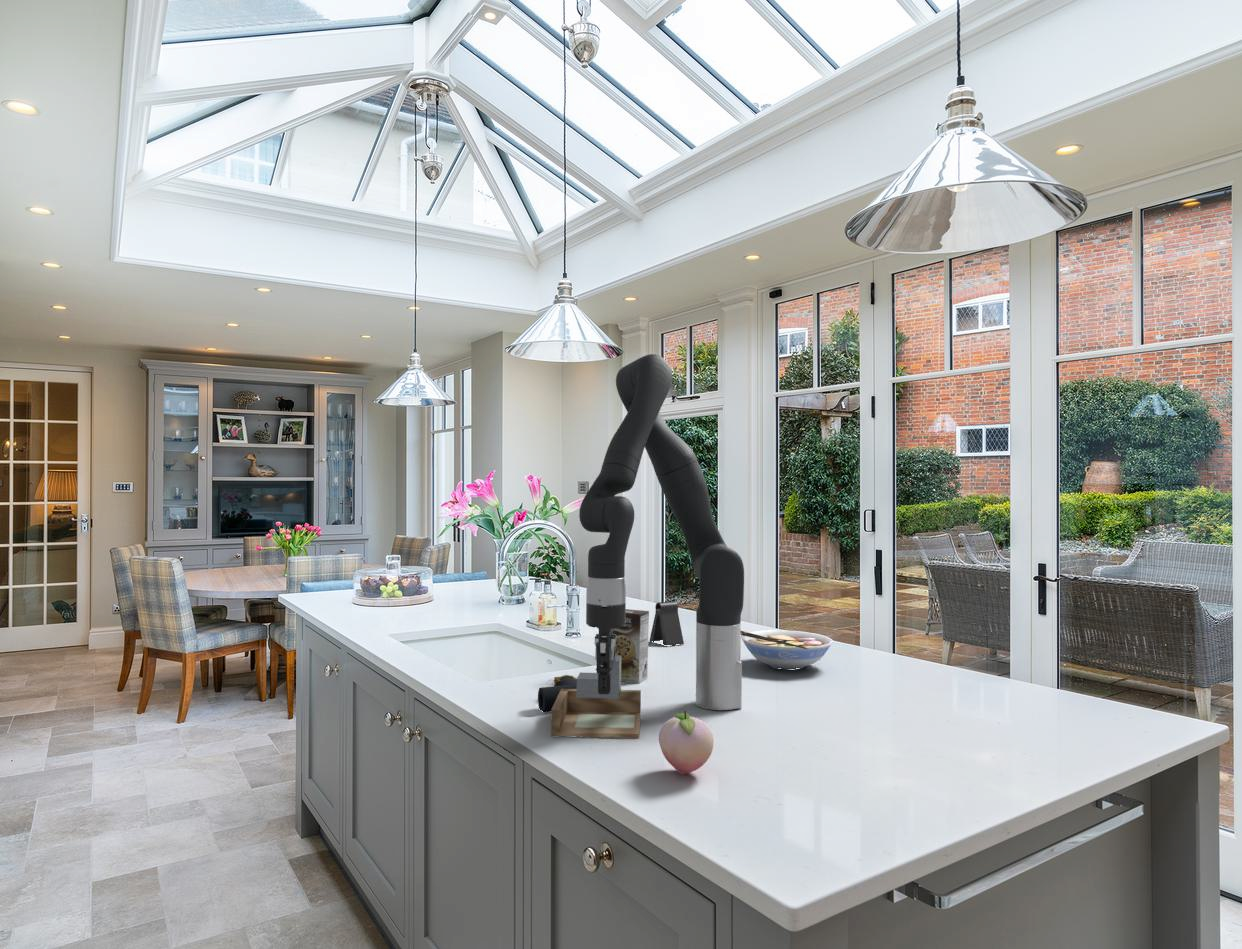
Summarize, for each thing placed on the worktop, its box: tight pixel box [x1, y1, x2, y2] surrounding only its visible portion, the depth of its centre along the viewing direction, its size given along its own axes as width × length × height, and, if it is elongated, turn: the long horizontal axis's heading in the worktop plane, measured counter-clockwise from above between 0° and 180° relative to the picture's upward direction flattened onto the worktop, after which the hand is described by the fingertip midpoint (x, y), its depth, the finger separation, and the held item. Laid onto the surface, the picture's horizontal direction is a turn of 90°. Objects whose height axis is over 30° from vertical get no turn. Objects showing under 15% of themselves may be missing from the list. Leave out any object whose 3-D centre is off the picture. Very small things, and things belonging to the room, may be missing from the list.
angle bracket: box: [576, 655, 622, 699], centre depth 150 cm, size 5×8×7 cm, turn 86°
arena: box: [550, 689, 642, 739], centre depth 150 cm, size 16×15×5 cm
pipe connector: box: [537, 674, 577, 713], centre depth 165 cm, size 12×5×15 cm
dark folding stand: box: [649, 600, 685, 645], centre depth 229 cm, size 9×6×12 cm, turn 31°
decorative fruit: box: [658, 710, 714, 775], centre depth 125 cm, size 9×8×10 cm
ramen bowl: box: [741, 629, 834, 669], centre depth 200 cm, size 25×23×8 cm
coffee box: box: [613, 609, 650, 684], centre depth 186 cm, size 9×6×16 cm
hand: (605, 689), depth 150 cm, fingers closed on angle bracket, 5 cm apart
